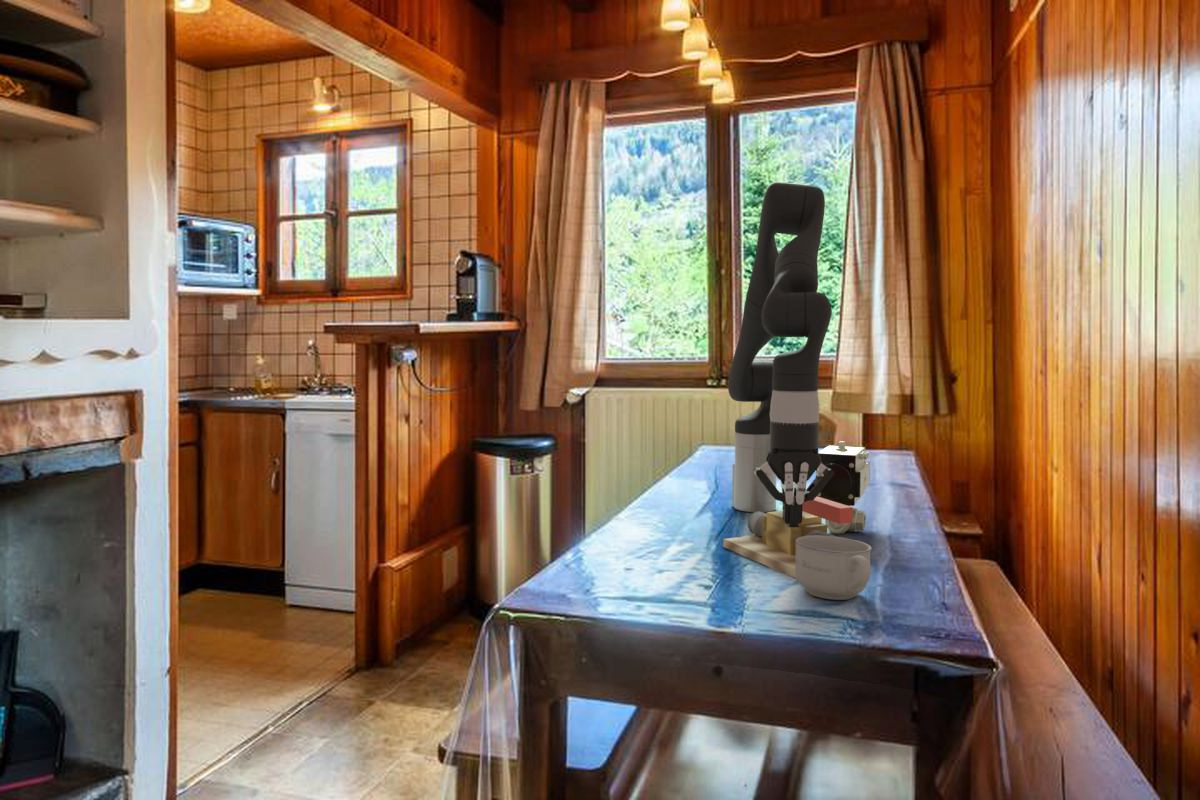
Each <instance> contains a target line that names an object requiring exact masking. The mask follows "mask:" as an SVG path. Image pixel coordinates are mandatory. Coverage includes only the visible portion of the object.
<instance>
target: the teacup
mask: <svg viewBox="0 0 1200 800" xmlns="http://www.w3.org/2000/svg"><path fill="white" fill-rule="evenodd" d="M833 536H834V535H833ZM833 536H818V535H814V536H803V537H799V538H797V539H796V559H795V571H796V577H797V582H798V583H799V585H801V586H802V587H803V588H804V589H805V590H806V592H807V593H809V595H811V596H814V597H817V598H821V599H824V600H825V599H826V600H832V601H833V600H834V601H846V600H850V599H853V598H854V597H856V595H859V594H860V593H861V592H863V591H864V589H866V587H867V585H868V583H869V581H870V579H871V574H872V572H871V552H872V551H873V550H872V546H871V545H870V544H868V543H867V542H866V543H865V542H863V541H861V540H856V539H852V538H848V537H841V536H836V537H833Z"/></svg>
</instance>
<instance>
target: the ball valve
mask: <svg viewBox="0 0 1200 800" xmlns="http://www.w3.org/2000/svg"><path fill="white" fill-rule="evenodd" d="M818 453H819V456H820V457H821V463H822V464H823V465H825V466H826V467H827V468H829V469H831V470H833V471H834V476H833V477H832V478H831V479H830V481H829V482H828V483H827V484H826V485H825V487H824V488H823V489H822V490H821V492H820V493H819V494H818V495H817V496H818V497H821V498H824V499H827V500H831V501H834V502H837V503H840V504H844V505H847V506H850V507H853V517H852V523H847V524H838V523H835V522H832V521H829V520H826V519H824V521H825V522H824V524H826V525H827V530H828V531H830V532H831V533H833V534H837V535H840V534H844V533H846V532H850V533H857V531H865V529H866V524H867V523H866V521H867V520H866V516H867V515H866V511H864V510H859V509H858V508H856V507H855V508H854V506H855V505H857V503H858V501H860V499H861V498H862V496H863V495H864V494H865V491H866V490H867V489H868V487H869V486H870V477H871V476H870V475H871V472H870V471H871V468H870V467H871V462H870V461H866V460H868V459H869V458H870V457H869V454H870V453H869V451H866V447H865V446H854V445H853V446H852V445H846V441H845V440H844V441H843V440H840V441H838V445H836V444H834V445H833V444H829V445H828V446H826V447H824V448H823V449H821V450H820V451H818ZM816 471H817V469H816ZM816 471H815V472H816ZM816 477H817V476H816V475H815V477H814V479H815V478H816Z"/></svg>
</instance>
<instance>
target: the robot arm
mask: <svg viewBox="0 0 1200 800" xmlns="http://www.w3.org/2000/svg"><path fill="white" fill-rule="evenodd" d="M825 199H826V198H825V194H824V191H823V190H822V188H820V187H818V186H816V185H809V184H804V183H803V184H802V183H795V182H785V181H783V182H782V181H773V182H771V183H770V184H769V185H768V186H767V188H766V191H765V193H764V195H763V199H762V205H761V213H760V219H759V226H758V233H757V241H756V250H755V255H754V256H755V257H754V260H753V261H754V262H753V265H752V270H751V275H750V279H749V283H748V287H747V291H746V298H745V301H744V307H743V313H742V320H741V321H742V322H741V327H740V331H739V337H738V341H737V344H736V348H735V351H734V355H733V358H732V361H731V364H730V369H729V373H728V379H727V388H728V394H729V397H730V398H731V399H732V400H733V401H735V402H742V403H746V402H747V403H748V402H749V403H755V402H757V403H760V404H759V406H758V408H756V410H754V411H752V412H751V413H748V414H747V415H743V416H740V417H739V418H737V419H736V420H735V423H734V463H733V464H732V477H731V478H732V479H731V480H732V481H731V482H732V485H731V487H732V490H731V493H732V495H731V496H732V497H731V499H732V500H731V505H732V506H733V507H734V509H735V510H737V511H742V512H746V513H747V512H750V513H754V512H757V511H760V512H763V513H767V512H774V511H775V510H776V509H777V501H778V502H781V503H782V511H783V521H784V522H785V523H786V525H787V526H788V527H798V524H801V522H802V509H803V503H804V502H806V501H809V500H810V501H812V500H814V499H815V498H816V496H817V495H818V494H819V493H820V492H821V490H822V489H823V488H824V487H825V485H826V484H827V483H828V482H829V481H830V479H831V478H832V477H833V476H834V471H833V470H831V469H829V468H827V467H826V466H825V465H823V464H822V463H821V457H820V456H819V441H820V440H819V438H820V437H819V436H820V435H819V434H820V433H819V431H820V428H819V427H820V425H819V424H820V401H819V365H820V358H821V352H822V348H823V345H824V341H825V337H826V334H827V332H828V329H829V326H830V323H831V318H832V314H833V313H832V311H833V309H832V308H833V307H832V303H831V301H830V300H829V298H828V297H827V295H825V294H824V293H823V292H818V288H819V276H818V275H819V269H818V257H819V256H818V255H819V251H820V247H821V246H820V244H821V239H822V235H823V225H824V218H825V209H826V208H825V206H826V205H825V204H826V200H825ZM776 234H781V235H788V236H789V235H790V236H791V235H792V236H795V237H794V238H793V239H791V240H790V241H788V243H786V244H785V245H784V246H783V247H782V248H781V250H780V251H778V247H777V244H776V238H775V237H776V236H775V235H776ZM774 337H775V338H807V340H806V343H805V344H804V346H803V347H801V348H799V349H796V350H793V351H787V352H782V353H778V354H777V355H775V357H773V360H771V359H770V360H769V359H768V360H765V359H763V360H762V359H760V360H759V359H758V360H756V359H755V358H756V356H757V355H758V353H759V352H760V351H761V350H762V348H763V347H765V346H766V345H767V344H768V343H769V342H770V341H771V340H773V338H774ZM816 469H817V471H816ZM814 474H815V477H816V476H817V477H816V478H815V477H814V479H813V480H812V482H810V484H809V486H807V484H808V483H807V482H808V481H809V480H810V479H811V478H812V476H813V475H814ZM777 479H778V480H780V488H781V491H779V490H778V488H777Z"/></svg>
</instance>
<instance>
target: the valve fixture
mask: <svg viewBox="0 0 1200 800" xmlns="http://www.w3.org/2000/svg"><path fill="white" fill-rule="evenodd" d="M822 519H823V518H820V517H817V516H815V515H812V514H809V513H806V512H803V511H802V522H801V524H798V527H788V526H787V525H786V523H785V522H784V521H783V510H777V511H775V510H774V511H769V512H760V511H757V512H752V514H751V515H750V516H749V518H748V522H747V528H748V530H749V532H750V533H751V535H743V536H738V537H737V536H736V537H735V536H734V537H729V538H723V542H722V543H723V546H722V547H723V548H725V549H727V550H730V551H732V552H735V553H736V554H738V555H742V556H743V557H746V558H748V559H750V560H753V561H755V562H756V563H757V562H758V563H760V564H762V565H765V566H767V567H769V568H771V569H774V570H776V571H778V572H780V573H783V574H785V575H787V574H788V576H789V575H790V577H792V576H793V577H792V578H794V577H795V579H796V578H797V577H796V571H795V559H796V539H797V538H799V537H803V536H814V535H818V536H833V537H837V536H836V535H833V534H832V535H831V534H829V533H828V528H827V525H826V523H823V522H822Z"/></svg>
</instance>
